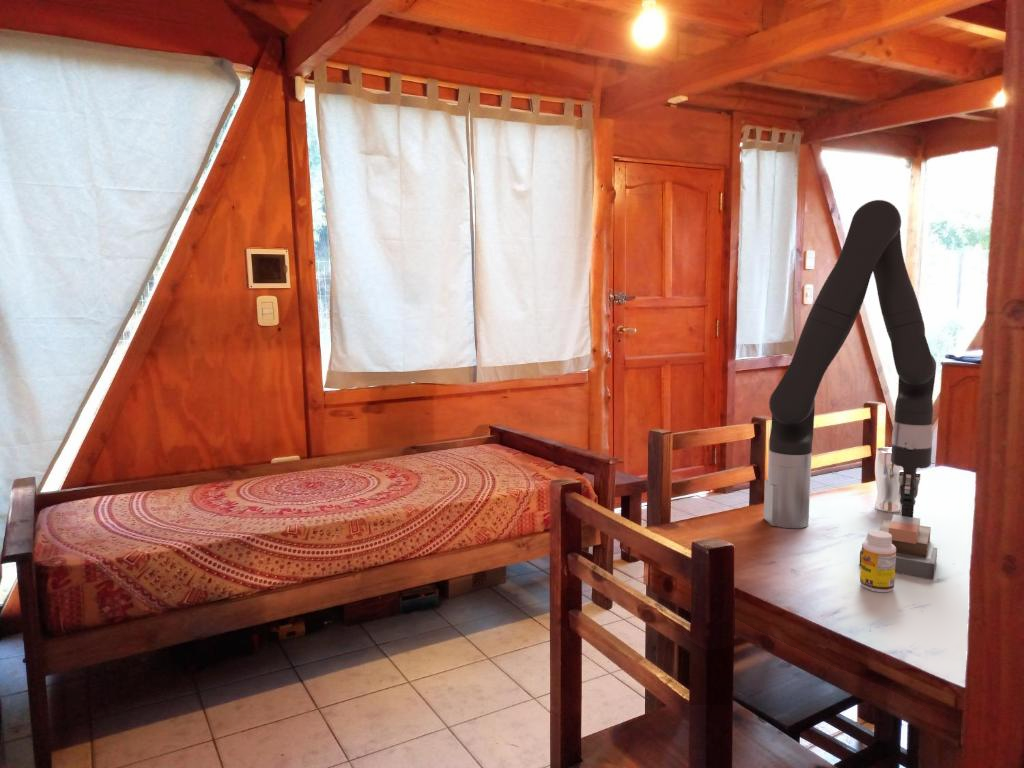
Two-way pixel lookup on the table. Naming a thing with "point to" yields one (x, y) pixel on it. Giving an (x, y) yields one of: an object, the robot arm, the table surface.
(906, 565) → the charcoal tray
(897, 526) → the terracotta tile
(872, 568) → the supplement bottle
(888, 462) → the beer glass
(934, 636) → the table surface
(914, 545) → the walnut board
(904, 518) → the grey tile
